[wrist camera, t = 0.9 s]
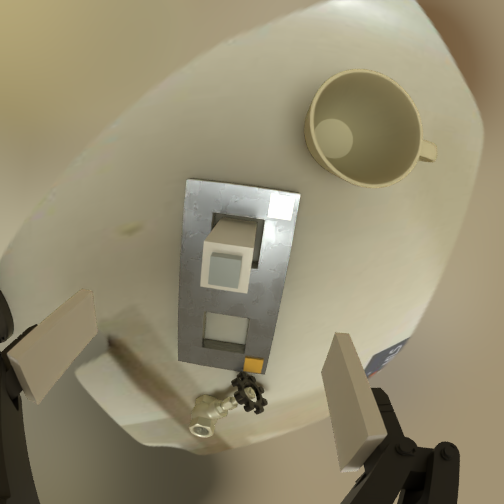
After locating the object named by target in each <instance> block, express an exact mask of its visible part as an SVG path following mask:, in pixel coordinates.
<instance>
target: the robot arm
mask: <svg viewBox="0 0 504 504" xmlns="http://www.w3.org/2000/svg"><path fill="white" fill-rule="evenodd" d="M97 333H98V328H97V322H96V315H95V308H94V300H93V291H89V290H85V289H81V290H80V291H78V292H77V293H76V294H75V295H73V296H72V297H71V298H70V299H68V300H67V301H66V302H65V303H64V304H62V305H61V306H60V307H59V308H57V309H56V310H55V311H54V312H53V313H52V314H50V315H49V316H48V317H47V318H46V319H44V320H43V321H42V322H41V323H40V324H39V325H37V324H36V325H34V326H31V327H29V328H28V329H26V330H25V331H24V332H23V333H22V335H20V336H19V337H18V338H17V339H15V340H14V341H13V342H12V343H11V344H10V345H8V346H7V347H6V348H5V349H4V350H3V351H2V352H0V504H40V502H39V499H38V496H37V492H36V488H35V484H34V480H33V476H32V472H31V467H30V462H29V457H28V452H27V445H26V439H25V432H24V424H23V414H22V400H21V396H20V392H21V391H22V390H23V391H24V394H25V396H26V397H27V399H29V400H30V401H32V402H34V403H36V404H37V405H38V404H39V403H40V402H41V400H42V399H43V398H44V397H45V395H46V394H47V393H48V392H49V390H50V389H51V388H52V386H53V385H54V384H55V383H56V381H57V380H58V379H59V378H60V377H61V375H62V374H63V373H64V372H65V370H66V369H67V368H68V367H69V366H70V364H71V363H72V362H73V361H74V360H75V358H76V357H77V356H78V355H79V354H80V352H81V351H82V350H83V349H84V348H85V347H86V345H87V344H88V343H89V342H90V341H91V340H92V339H93V337H94V336H95V335H96V334H97ZM12 334H13V321H12V317H11V313H10V310H9V308H8V305H7V303H6V301H5V299H4V297H3V295H2V293H1V292H0V343H2V342H5V341H6V340H7V339H8V338H10V337H11V336H12ZM321 373H322V378H323V383H324V388H325V392H326V397H327V402H328V407H329V412H330V417H331V422H332V427H333V433H334V438H335V444H336V449H337V455H338V461H339V466H340V472H348V471H349V472H350V471H358V470H359V469H360V467H361V466H362V465H363V464H364V468H365V472H364V473H363V474H362V475H361V477H359V478H358V479H357V481H356V484H355V485H354V487H353V488H352V489H351V491H350V492H349V493H348V495H347V496H346V497H345V498H344V500H343V501H342V502H341V504H393V502H394V500H395V499H396V497H397V495H398V494H399V492H400V490H401V492H400V495H399V499H398V503H397V504H457V498H458V486H459V466H460V454H459V450H458V449H457V447H456V446H455V445H454V444H453V443H450V442H441V443H439V444H438V445H437V446H436V447H435V448H434V449H432V448H423V447H417V445H416V443H415V442H414V441H413V440H411V439H410V438H407V437H405V436H404V435H403V432H402V429H401V427H400V424H399V422H398V419H397V417H396V414H395V412H394V409H393V407H392V405H391V403H390V400H389V397H388V395H387V394H386V393H385V392H384V391H383V390H382V389H381V388H371V387H370V385H369V382H368V380H367V377H366V374H365V372H364V369H363V367H362V364H361V362H360V359H359V357H358V354H357V352H356V349H355V347H354V345H353V342H352V340H351V337H350V335H349V334H347V333H336V332H335V335H334V338H333V341H332V344H331V346H330V349H329V352H328V355H327V358H326V361H325V363H324V366H323V369H322V371H321Z"/></svg>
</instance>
